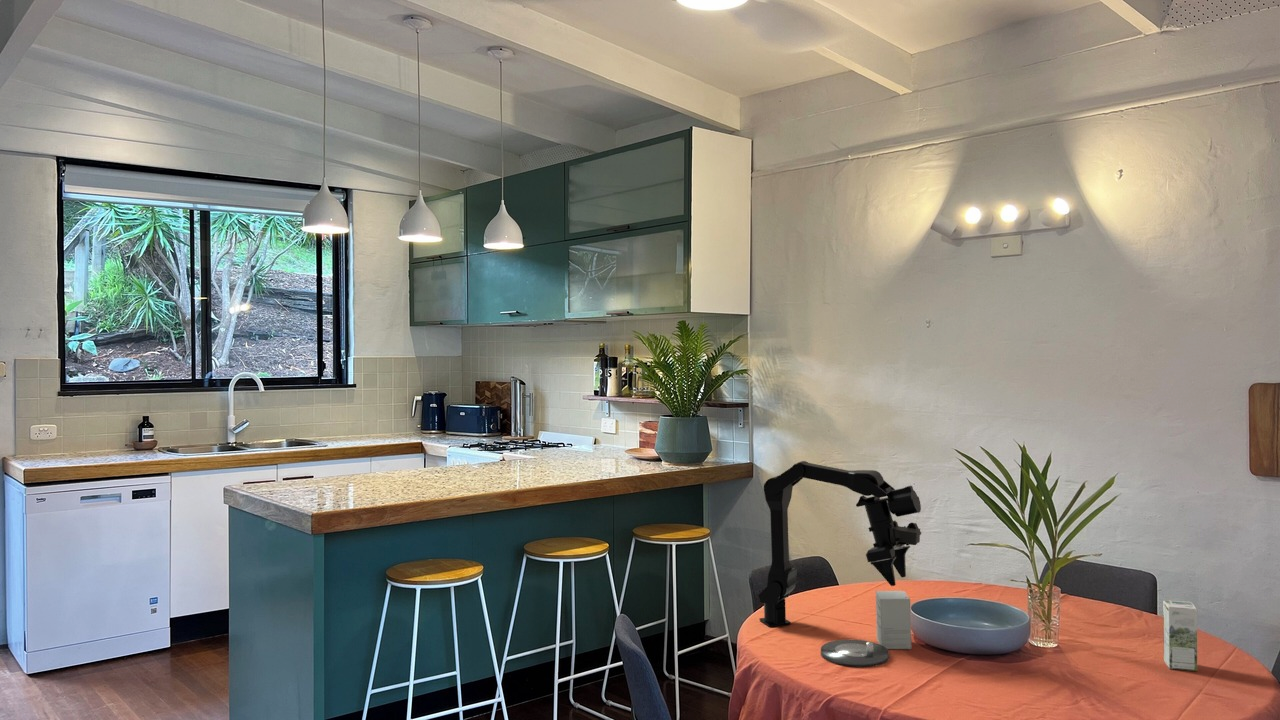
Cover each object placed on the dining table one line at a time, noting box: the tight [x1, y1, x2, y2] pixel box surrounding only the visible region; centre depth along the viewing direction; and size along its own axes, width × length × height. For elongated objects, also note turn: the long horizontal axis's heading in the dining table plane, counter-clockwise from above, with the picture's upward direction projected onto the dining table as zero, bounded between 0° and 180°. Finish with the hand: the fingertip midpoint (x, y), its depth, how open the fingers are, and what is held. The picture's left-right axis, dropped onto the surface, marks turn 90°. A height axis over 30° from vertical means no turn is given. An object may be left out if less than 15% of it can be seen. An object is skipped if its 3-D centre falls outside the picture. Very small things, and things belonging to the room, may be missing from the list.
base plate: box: [820, 638, 890, 668], centre depth 217 cm, size 16×16×4 cm
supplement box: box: [875, 590, 912, 650], centre depth 224 cm, size 7×7×13 cm
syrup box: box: [1162, 599, 1198, 672], centre depth 205 cm, size 6×6×14 cm
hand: (898, 581), depth 226 cm, fingers open, 9 cm apart
